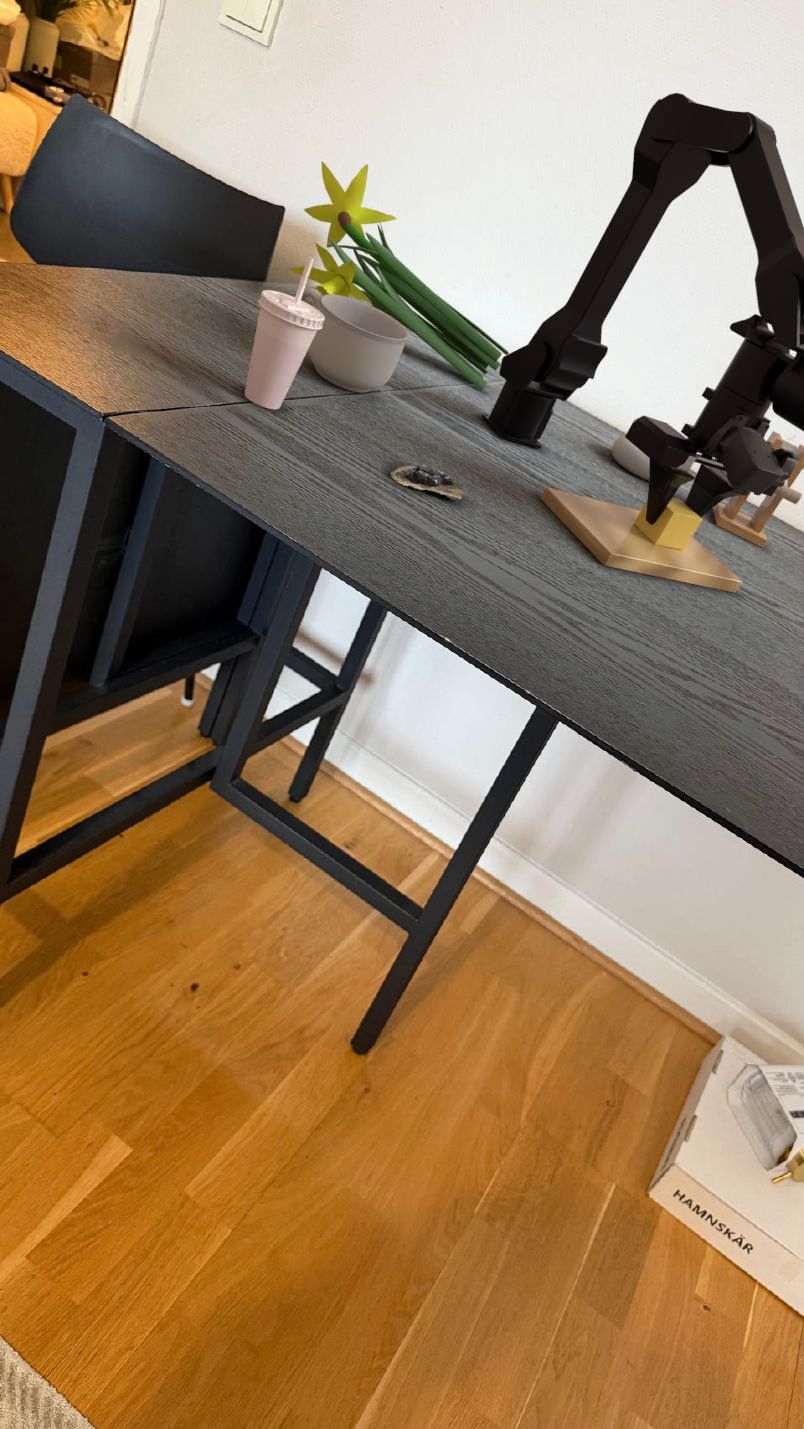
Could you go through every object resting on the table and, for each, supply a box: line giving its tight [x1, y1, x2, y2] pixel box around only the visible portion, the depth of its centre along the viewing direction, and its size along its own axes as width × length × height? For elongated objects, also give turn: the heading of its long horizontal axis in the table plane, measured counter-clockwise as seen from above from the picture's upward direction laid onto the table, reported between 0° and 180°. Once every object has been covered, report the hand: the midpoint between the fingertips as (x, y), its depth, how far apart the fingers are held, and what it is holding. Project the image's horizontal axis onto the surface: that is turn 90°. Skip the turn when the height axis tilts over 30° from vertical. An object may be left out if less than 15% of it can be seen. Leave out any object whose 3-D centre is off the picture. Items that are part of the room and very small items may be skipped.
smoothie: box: [244, 256, 325, 410], centre depth 91 cm, size 6×6×14 cm
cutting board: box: [540, 486, 743, 594], centre depth 106 cm, size 20×14×2 cm
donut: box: [611, 435, 649, 482], centre depth 134 cm, size 10×3×10 cm
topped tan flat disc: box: [389, 464, 466, 501], centre depth 93 cm, size 7×8×2 cm
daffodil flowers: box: [289, 161, 510, 392], centre depth 132 cm, size 17×15×35 cm
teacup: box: [301, 287, 410, 394], centre depth 110 cm, size 14×11×8 cm
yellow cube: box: [634, 497, 703, 550], centre depth 105 cm, size 4×4×4 cm
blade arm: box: [774, 439, 803, 505], centre depth 122 cm, size 11×5×2 cm, turn 167°
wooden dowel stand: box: [712, 430, 804, 549], centre depth 128 cm, size 8×7×13 cm
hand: (664, 526), depth 106 cm, fingers closed on yellow cube, 4 cm apart
